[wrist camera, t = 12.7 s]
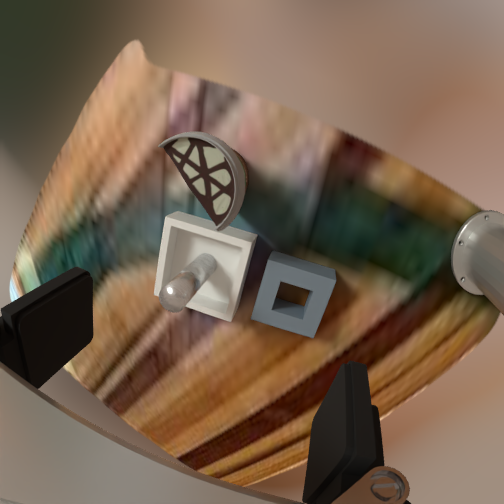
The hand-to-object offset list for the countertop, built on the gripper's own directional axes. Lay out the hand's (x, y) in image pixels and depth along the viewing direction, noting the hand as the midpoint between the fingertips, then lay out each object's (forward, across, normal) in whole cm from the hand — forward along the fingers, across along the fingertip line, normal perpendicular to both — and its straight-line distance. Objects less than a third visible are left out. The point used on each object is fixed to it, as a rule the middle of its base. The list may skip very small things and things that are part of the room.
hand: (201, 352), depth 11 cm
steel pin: (+33, +9, +12) cm, 36 cm away
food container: (+34, +9, -2) cm, 35 cm away
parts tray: (+34, +10, +12) cm, 37 cm away
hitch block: (+34, -4, +12) cm, 36 cm away
